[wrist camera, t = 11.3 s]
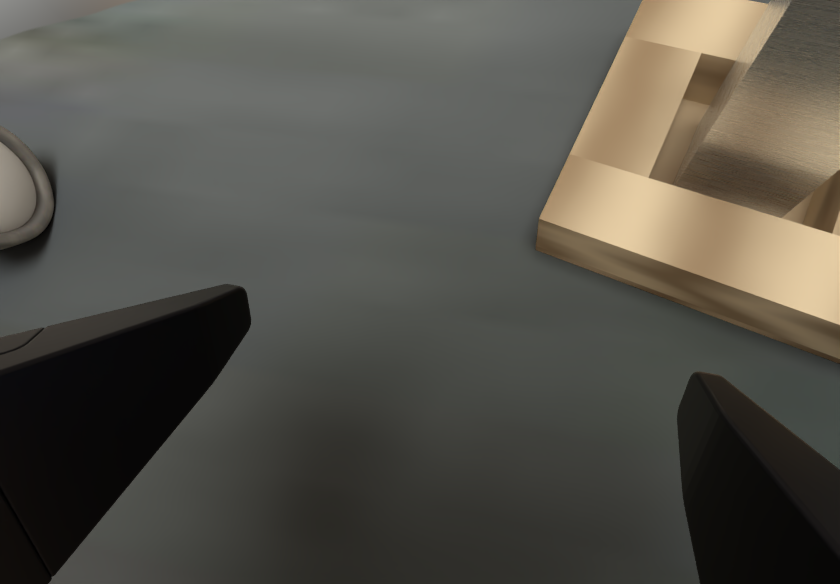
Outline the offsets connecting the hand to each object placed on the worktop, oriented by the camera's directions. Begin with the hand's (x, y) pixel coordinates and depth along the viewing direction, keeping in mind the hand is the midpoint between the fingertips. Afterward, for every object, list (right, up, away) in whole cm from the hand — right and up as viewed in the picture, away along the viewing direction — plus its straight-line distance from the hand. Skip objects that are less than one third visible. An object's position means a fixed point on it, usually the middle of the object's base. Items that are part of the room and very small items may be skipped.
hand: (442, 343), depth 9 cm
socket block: (+15, +6, +14) cm, 22 cm away
